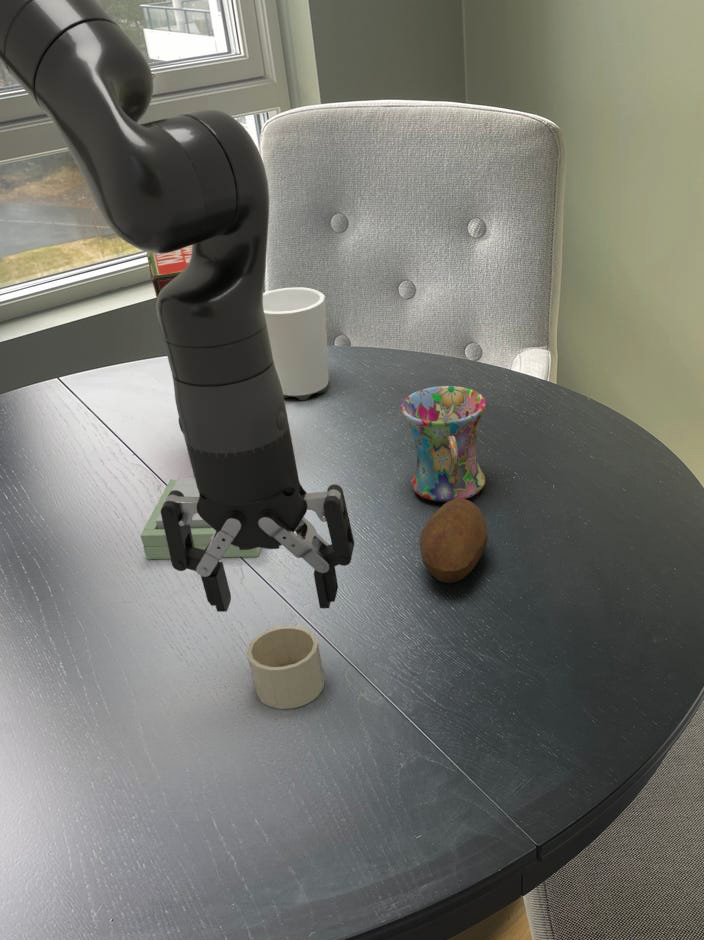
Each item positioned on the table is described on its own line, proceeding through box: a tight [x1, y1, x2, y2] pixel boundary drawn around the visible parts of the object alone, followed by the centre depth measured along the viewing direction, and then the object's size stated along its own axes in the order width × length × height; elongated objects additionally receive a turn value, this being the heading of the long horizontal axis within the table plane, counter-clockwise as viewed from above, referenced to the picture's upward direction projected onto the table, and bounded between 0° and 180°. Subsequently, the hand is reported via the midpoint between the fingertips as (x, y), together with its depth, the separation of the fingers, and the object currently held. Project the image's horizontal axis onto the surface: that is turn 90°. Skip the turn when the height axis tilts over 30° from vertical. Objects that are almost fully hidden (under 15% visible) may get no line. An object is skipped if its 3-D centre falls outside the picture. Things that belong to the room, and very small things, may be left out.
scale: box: [140, 479, 262, 560], centre depth 107 cm, size 12×12×3 cm
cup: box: [263, 286, 330, 401], centre depth 132 cm, size 10×10×13 cm
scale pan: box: [156, 477, 212, 529], centre depth 106 cm, size 9×9×1 cm
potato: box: [419, 498, 488, 584], centre depth 97 cm, size 7×12×7 cm, turn 175°
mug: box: [400, 385, 487, 503], centre depth 108 cm, size 12×9×11 cm
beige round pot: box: [246, 625, 326, 710], centre depth 85 cm, size 6×6×4 cm
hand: (275, 604), depth 80 cm, fingers open, 8 cm apart
